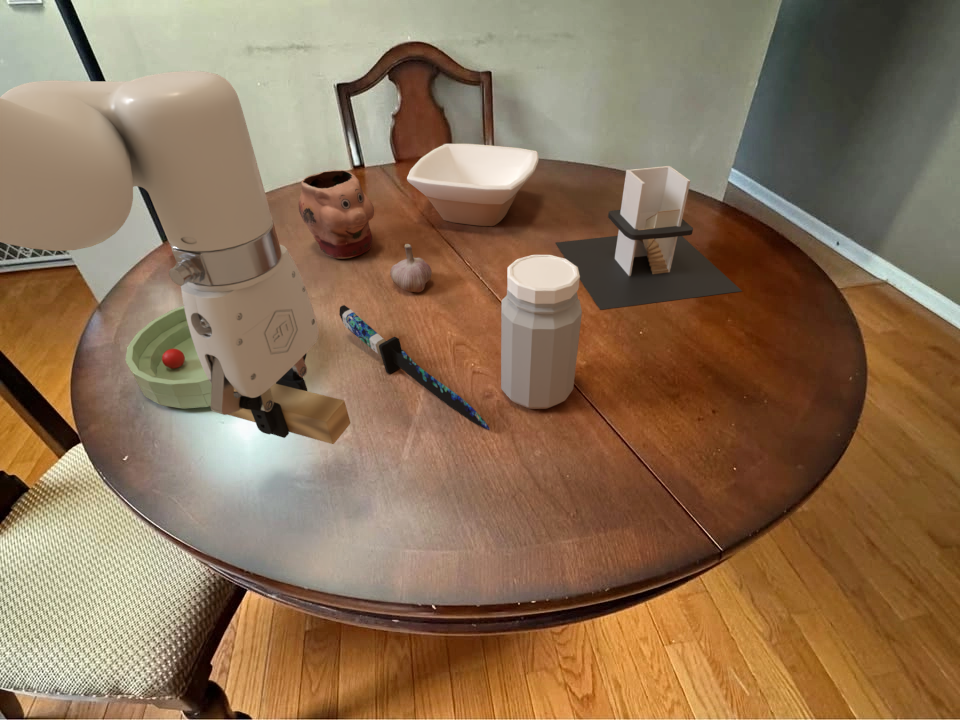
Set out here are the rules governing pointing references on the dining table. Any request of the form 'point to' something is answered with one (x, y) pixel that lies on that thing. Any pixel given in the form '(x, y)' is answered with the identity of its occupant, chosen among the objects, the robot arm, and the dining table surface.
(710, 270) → the model building
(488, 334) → the dining table surface
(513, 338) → the jar
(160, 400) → the shallow round dish
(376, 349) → the knife
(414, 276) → the garlic bulb
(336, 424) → the stick
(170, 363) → the tomato
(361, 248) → the decorative planter
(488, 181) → the bowl
